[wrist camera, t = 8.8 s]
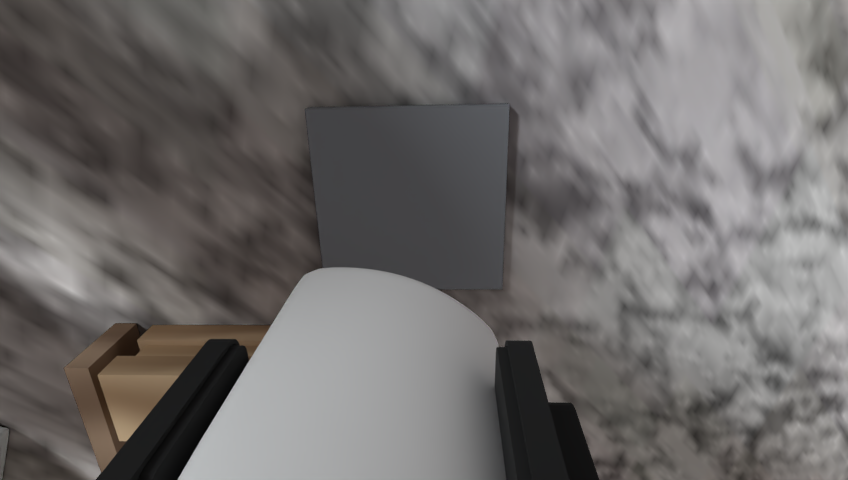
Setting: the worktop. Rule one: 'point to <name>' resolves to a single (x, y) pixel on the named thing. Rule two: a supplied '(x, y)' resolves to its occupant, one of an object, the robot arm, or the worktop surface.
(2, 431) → the supplement box
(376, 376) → the eye dropper bottle
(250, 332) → the wooden block
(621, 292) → the worktop surface
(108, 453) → the walnut rack
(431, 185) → the slate mat
